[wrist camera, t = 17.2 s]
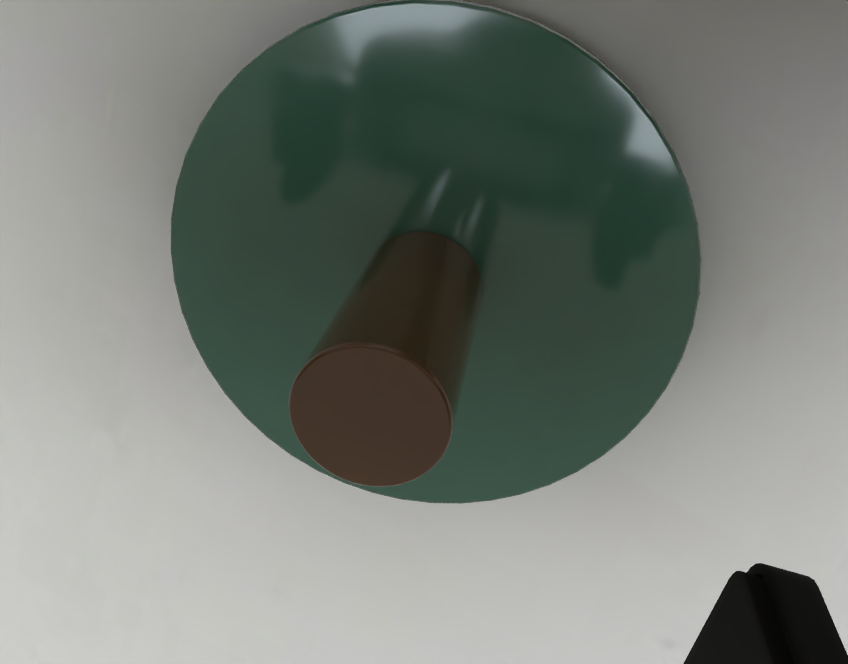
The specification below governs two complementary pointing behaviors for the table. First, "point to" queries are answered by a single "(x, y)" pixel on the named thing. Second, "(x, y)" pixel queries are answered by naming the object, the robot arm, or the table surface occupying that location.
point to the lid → (436, 251)
